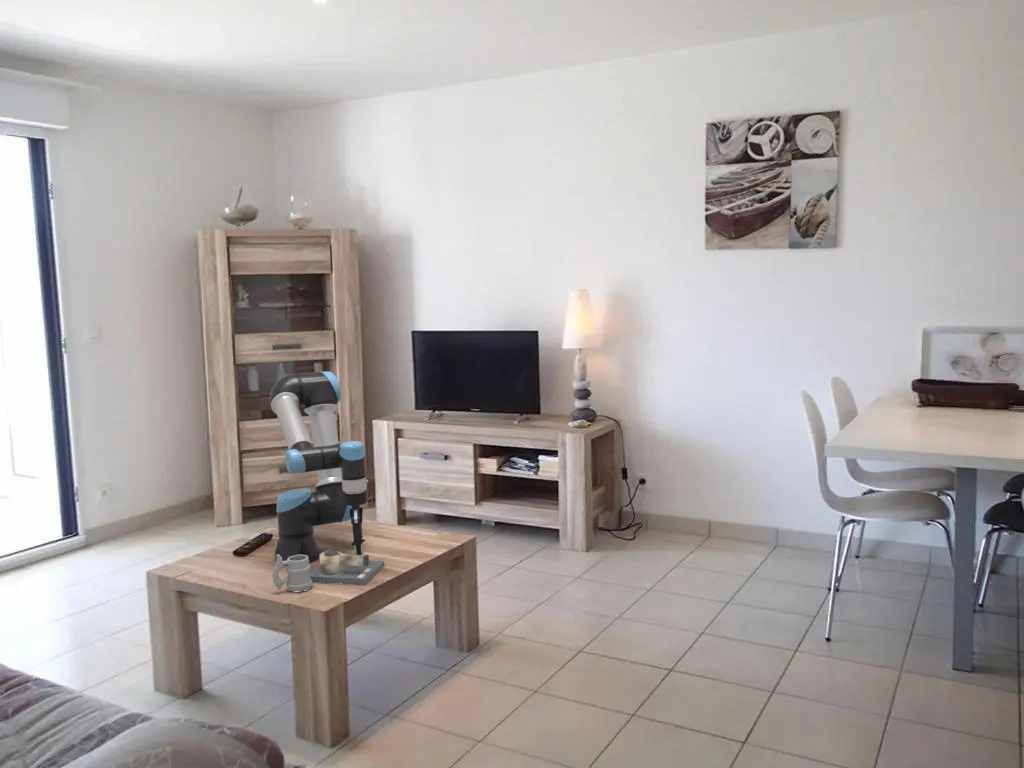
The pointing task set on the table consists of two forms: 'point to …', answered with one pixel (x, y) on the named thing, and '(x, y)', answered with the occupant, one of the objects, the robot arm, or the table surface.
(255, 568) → the table surface
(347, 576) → the grey base plate
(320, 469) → the robot arm
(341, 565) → the lever
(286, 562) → the mug
